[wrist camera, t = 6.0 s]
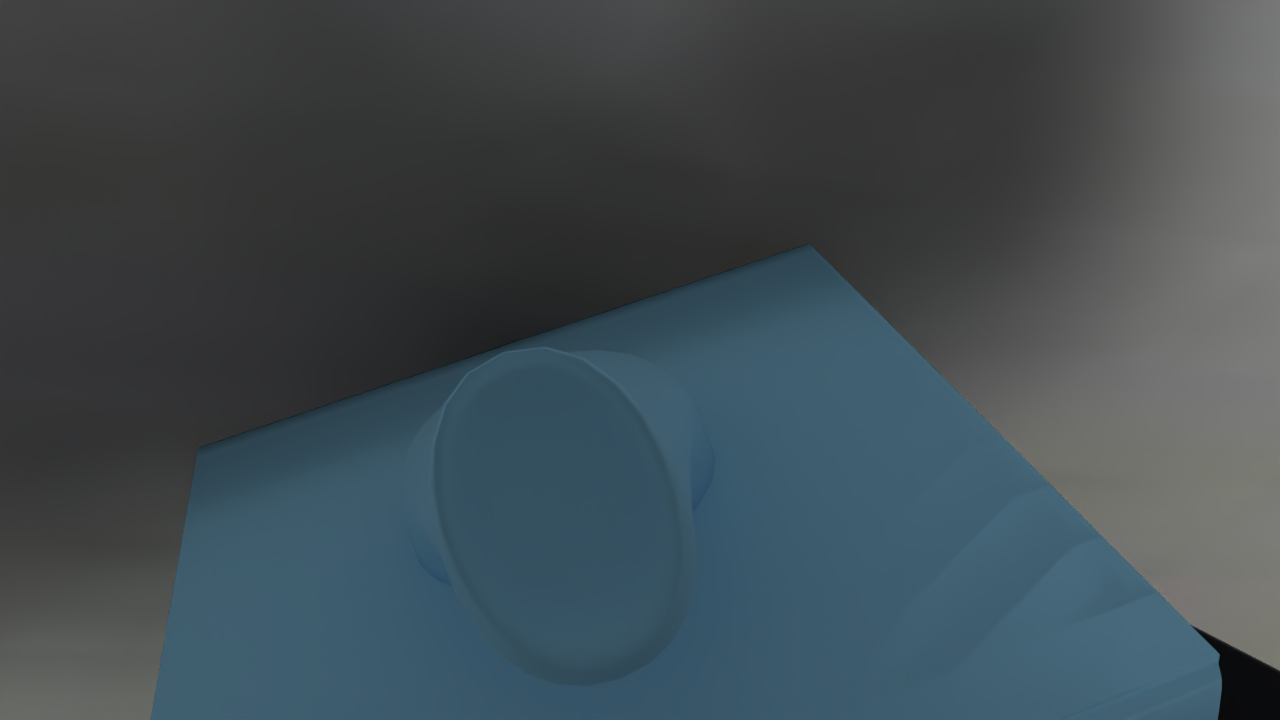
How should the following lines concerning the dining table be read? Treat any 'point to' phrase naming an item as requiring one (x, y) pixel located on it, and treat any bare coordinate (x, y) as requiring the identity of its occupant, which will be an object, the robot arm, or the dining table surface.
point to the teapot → (663, 539)
